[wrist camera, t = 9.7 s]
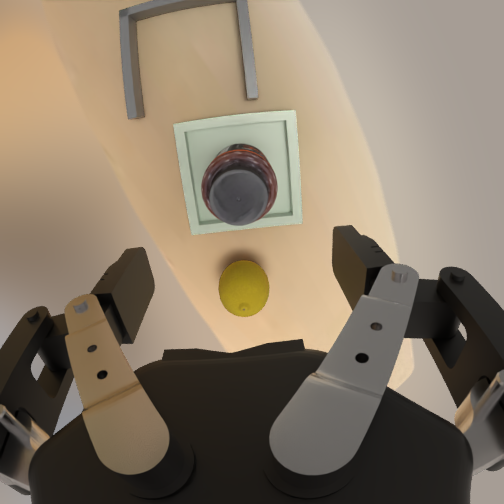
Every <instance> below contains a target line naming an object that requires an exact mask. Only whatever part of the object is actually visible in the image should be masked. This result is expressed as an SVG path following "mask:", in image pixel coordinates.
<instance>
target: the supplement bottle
mask: <svg viewBox="0 0 504 504" xmlns="http://www.w3.org/2000/svg"><path fill="white" fill-rule="evenodd" d="M277 191H278V184H277V179H276V175H275V173H274V170H273V169H272V166H271V165H270V163H269V161H268V160H267V158H266V157H265V155H264V154H263V153H262V152H261V151H260V150H259V149H258V148H256V147H254V146H251V145H248V144H242V143H241V144H233V145H230V146H228V147H226V148H224V149H223V150H222V151H220V152H219V153H218V154H217V156H216V157H215V158H214V160H213V161H212V162H211V163H210V165H209V166H208V167H207V169H206V171H205V173H204V176H203V179H202V184H201V193H202V198H203V201H204V203H205V205H206V207H207V209H208V210H209V211H210V212H211V214H213V215H214V216H215V217H216V218H218V219H219V220H221V221H223V222H225V223H227V224H230V225H234V226H243V225H247V224H250V223H253V222H255V221H258V220H259V219H261V218H262V217H264V216H265V215H266V214H267V213H268V212H269V211H270V209H271V208H272V206H273V205H274V202H275V200H276V197H277Z"/></svg>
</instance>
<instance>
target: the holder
mask: <svg viewBox="0 0 504 504" xmlns="http://www.w3.org/2000/svg"><path fill="white" fill-rule="evenodd" d="M228 2H236V5H237V13H238V22H239V30H240V39H241V47H242V56H243V65H244V74H245V83H246V92H247V100H253V99H258V89H257V79H256V70H255V62H254V53H253V45H252V36H251V28H250V20H249V12H248V4H247V0H153V1H149V2H145V3H142V4H139V5H135V6H132V7H129V8H126V9H123V10H120V11H119V20H120V44H121V59H122V71H123V82H124V91H125V100H126V108H127V116H128V119H138V118H142V117H145V115H144V107H143V99H142V90H141V81H140V71H139V60H138V47H137V31H136V21H139V20H142V19H145V18H149V17H153V16H157V15H161V14H165V13H169V12H174V11H178V10H183V9H188V8H194V7H199V6H206V5H212V4H220V3H228Z"/></svg>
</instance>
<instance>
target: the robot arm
mask: <svg viewBox="0 0 504 504" xmlns="http://www.w3.org/2000/svg"><path fill="white" fill-rule="evenodd" d="M332 266H333V272H334V275H335V277H336V279H337V281H338V283H339V285H340V287H341V288H342V290H343V292H344V294H345V296H346V298H347V300H348V302H349V304H350V306H351V308H352V310H353V312H352V314H351V316H350V317H349V319H348V321H347V323H346V324H345V326H344V328H343V329H342V331H341V333H340V334H339V336H338V338H337V339H336V341H335V343H334V344H333V346H332V348H331V349H330V351H329V352H328V353H326V352H323V351H319V350H312V349H305V347H304V343H303V339H298V340H290V341H282V342H273V343H266V344H263V345H259V346H256V347H252V348H249V349H245V350H242V351H238V352H234V353H226V352H217V351H210V350H203V349H171V350H164V353H163V357H162V360H158V361H155V362H152V363H149V364H147V365H144V366H142V367H140V368H138V369H137V370H135V371H134V372H133V370H132V368H131V367H130V365H129V363H128V361H127V359H126V357H125V356H124V353H123V352H122V350H121V348H120V346H121V344H133V343H134V340H135V338H136V335H137V332H138V330H139V327H140V325H141V322H142V320H143V317H144V315H145V312H146V310H147V308H148V305H149V303H150V300H151V298H152V296H153V293H154V288H155V285H154V278H153V275H152V272H151V268H150V265H149V261H148V258H147V254H146V251H145V249H144V248H143V247H138V248H130V249H126V250H125V251H124V253H123V254H122V255H121V257H120V258H119V260H118V261H116V262H115V263H114V264H112V265H111V266H110V267H109V268H108V269H107V270H106V272H105V273H104V275H103V276H102V277H101V279H100V281H99V282H98V283H97V284H96V286H95V287H94V289H93V290H92V291H91V293H90V294H84V295H81V296H78V297H76V298H74V299H73V300H71V301H70V302H69V303H68V304H67V305H66V307H65V309H64V312H65V313H64V314H60V315H56V316H52V317H51V315H50V313H49V311H48V309H47V308H46V307H44V306H40V307H36V308H33V309H31V310H30V311H28V312H27V313H26V314H25V315H24V316H23V317H22V318H21V320H20V321H19V322H18V324H17V325H16V327H15V328H14V330H13V331H12V333H11V334H10V335H9V337H8V338H7V340H6V341H5V343H4V345H3V346H2V348H1V349H0V481H1V482H2V483H4V484H6V485H8V486H10V487H12V488H13V489H15V490H16V491H18V492H19V493H21V494H24V495H31V501H32V504H470V489H471V480H472V476H474V475H476V474H478V473H480V472H481V471H483V470H485V469H486V470H489V471H497V470H499V469H501V468H502V467H504V310H503V309H502V308H501V307H500V306H499V304H498V303H497V302H496V301H495V300H494V299H493V298H492V297H491V295H490V294H489V293H488V292H487V291H486V290H485V289H484V288H483V287H482V286H481V285H480V284H479V282H477V280H476V279H475V278H474V277H473V276H472V275H471V274H469V273H468V272H467V271H465V270H463V269H461V268H457V267H445V268H443V269H442V270H441V271H440V273H439V277H438V280H429V279H427V280H426V279H419V274H418V273H417V271H415V270H414V269H413V268H411V267H409V266H407V265H403V264H395V263H394V262H393V261H392V260H391V259H390V258H389V256H388V255H387V254H386V253H385V252H383V250H382V249H381V248H380V247H379V245H378V244H377V243H376V242H375V241H374V240H373V239H371V238H369V237H367V236H365V235H360V234H359V233H358V232H357V230H356V229H355V228H354V227H353V226H352V225H347V226H336V227H334V229H333V248H332ZM460 323H462V324H463V326H464V327H465V329H466V333H467V340H466V341H465V339H464V337H463V336H462V334H461V333H460V331H459V330H458V328H459V325H460ZM403 338H423V341H424V342H425V344H426V346H427V348H428V350H429V351H430V354H431V355H432V357H433V359H434V361H435V363H436V365H437V367H438V369H439V371H440V373H441V375H442V377H443V379H444V381H445V383H446V385H447V387H448V389H449V391H450V393H451V395H452V397H453V400H454V402H455V404H456V406H457V408H458V410H457V411H456V414H455V425H453V424H452V423H450V422H449V421H447V420H445V419H443V418H441V417H439V416H438V415H436V414H434V413H432V412H430V411H429V410H427V409H425V408H423V407H422V406H420V405H418V404H416V403H415V402H413V401H411V400H409V399H408V398H406V397H404V396H402V395H401V394H399V393H397V392H396V391H394V390H392V389H391V388H389V387H387V384H388V382H389V379H390V376H391V374H392V371H393V368H394V365H395V363H396V360H397V357H398V354H399V351H400V348H401V345H402V341H403ZM37 353H38V354H39V356H40V357H41V359H42V360H43V362H44V363H45V366H44V368H43V370H42V372H41V374H40V376H39V378H38V380H37V381H36V380H35V378H34V377H33V375H32V372H31V363H32V361H33V359H34V357H35V356H36V354H37ZM73 378H75V381H76V384H77V388H78V391H79V394H80V398H81V401H82V404H83V407H84V409H83V411H82V413H81V414H80V415H79V416H77V417H76V418H75V419H73V420H72V421H71V422H70V423H68V424H67V425H66V426H64V427H63V428H62V429H61V430H59V431H58V432H57V433H55V435H53V433H54V430H55V427H56V424H57V421H58V418H59V415H60V413H61V410H62V407H63V404H64V401H65V399H66V396H67V394H68V391H69V388H70V386H71V383H72V381H73Z"/></svg>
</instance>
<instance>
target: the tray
mask: <svg viewBox="0 0 504 504" xmlns="http://www.w3.org/2000/svg"><path fill="white" fill-rule="evenodd" d="M173 126H174V133H175V141H176V147H177V154H178V160H179V167H180V173H181V179H182V185H183V191H184V197H185V202H186V208H187V214H188V219H189V224H190V230H191V235H197V234H206V233H215V232H224V231H233V230H242V229H252V228H261V227H271V226H281V225H292V224H302V223H303V220H302V197H301V178H300V161H299V147H298V133H297V121H296V110H286V111H270V112H258V113H247V114H238V115H229V116H221V117H214V118H207V119H200V120H194V121H188V122H182V123H177V124H173ZM241 143H242V144H248V145H251V146H254V147H256V148H258V149H259V150H260V151H261V152H262V153H263V154H264V155H265V157H266V158H267V160H268V161H269V163H270V165H271V166H272V169H273V170H274V173H275V175H276V179H277V184H278V191H277V197H276V200H275V202H274V205H273V206H272V208H271V209H270V211H269V212H268V213H267V214H266V215H265V216H264V217H262V218H261V219H259V220H258V221H255V222H253V223H250V224H247V225H243V226H234V225H230V224H227V223H225V222H223V221H221V220H219V219H218V218H216V217H215V216H214V215H213V214H211V212H210V211H209V210H208V209H207V207H206V205H205V203H204V201H203V198H202V193H201V184H202V179H203V176H204V173H205V171H206V169H207V167H208V166H209V165H210V163H211V162H212V161H213V160H214V158H215V157H216V156H217V154H218V153H219V152H220V151H222V150H223V149H224V148H226V147H228V146H230V145H233V144H241Z"/></svg>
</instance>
